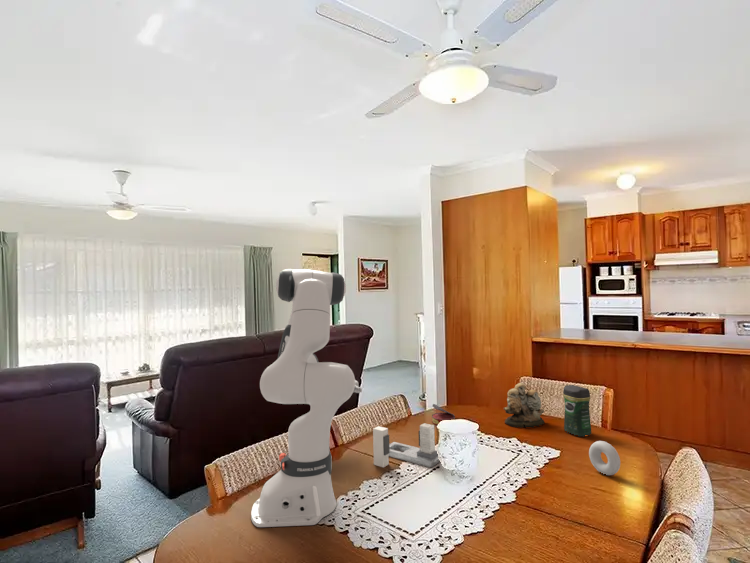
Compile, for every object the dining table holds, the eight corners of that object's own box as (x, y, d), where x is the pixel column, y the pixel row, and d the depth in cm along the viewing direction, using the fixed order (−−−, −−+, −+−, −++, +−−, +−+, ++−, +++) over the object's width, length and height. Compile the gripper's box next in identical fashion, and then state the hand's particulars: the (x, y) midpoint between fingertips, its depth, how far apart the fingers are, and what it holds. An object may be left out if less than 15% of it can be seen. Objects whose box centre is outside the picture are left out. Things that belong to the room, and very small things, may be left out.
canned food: (433, 431, 187) (430, 408, 192) (456, 429, 185) (453, 406, 190) (431, 426, 177) (429, 402, 182) (456, 424, 176) (452, 400, 181)
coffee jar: (595, 435, 164) (594, 387, 164) (579, 438, 161) (578, 389, 161) (576, 428, 173) (574, 382, 173) (560, 430, 170) (559, 384, 170)
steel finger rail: (381, 454, 150) (380, 420, 150) (394, 447, 156) (393, 414, 157) (431, 467, 138) (430, 430, 138) (442, 459, 144) (441, 424, 145)
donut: (623, 479, 127) (622, 446, 127) (615, 481, 125) (614, 448, 126) (594, 466, 136) (593, 435, 136) (586, 468, 135) (585, 437, 135)
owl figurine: (512, 430, 173) (510, 388, 173) (497, 421, 184) (496, 382, 184) (551, 425, 177) (549, 384, 177) (534, 417, 188) (532, 379, 188)
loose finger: (373, 464, 141) (373, 428, 141) (379, 461, 144) (378, 426, 144) (385, 467, 139) (384, 431, 139) (390, 464, 141) (389, 428, 141)
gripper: (302, 385, 149) (331, 390, 141) (341, 374, 165) (369, 378, 157) (303, 403, 149) (332, 409, 141) (341, 390, 165) (369, 395, 157)
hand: (352, 393), depth 149 cm, fingers open, 8 cm apart
